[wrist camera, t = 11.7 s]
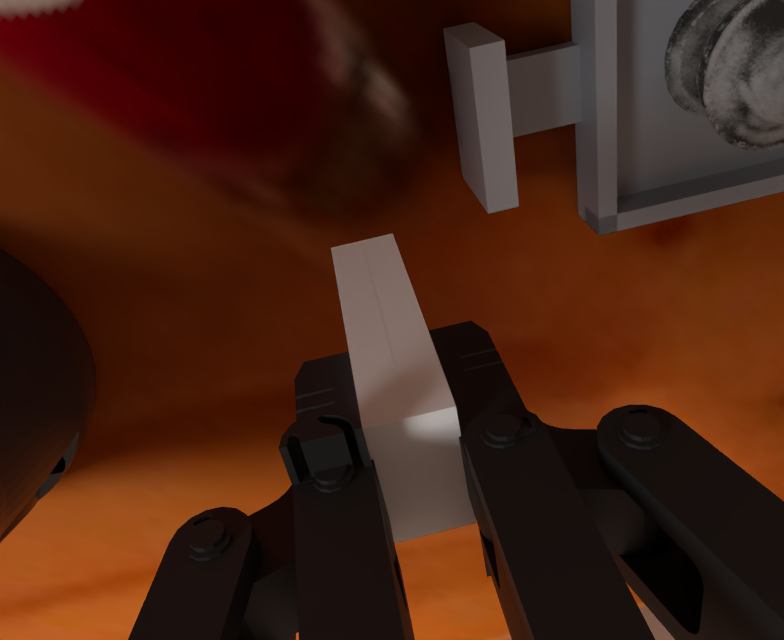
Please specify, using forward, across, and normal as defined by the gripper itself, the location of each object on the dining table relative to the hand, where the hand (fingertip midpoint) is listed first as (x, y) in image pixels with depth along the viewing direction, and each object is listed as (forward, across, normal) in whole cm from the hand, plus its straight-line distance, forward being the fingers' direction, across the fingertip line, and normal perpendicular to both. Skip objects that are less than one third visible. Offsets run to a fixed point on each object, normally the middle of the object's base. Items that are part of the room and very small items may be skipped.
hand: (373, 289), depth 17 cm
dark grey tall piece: (+12, +16, 0) cm, 20 cm away
